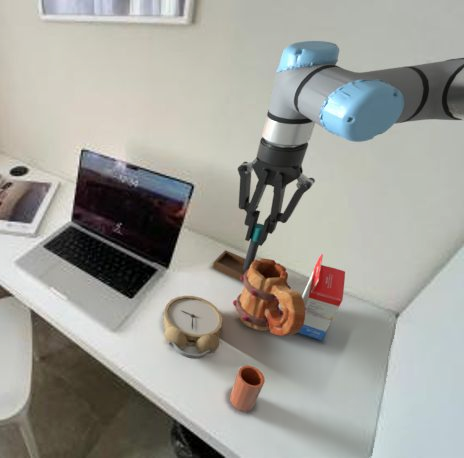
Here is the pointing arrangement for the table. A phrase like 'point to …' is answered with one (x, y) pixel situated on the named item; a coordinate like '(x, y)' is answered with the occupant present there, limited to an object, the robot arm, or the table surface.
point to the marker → (253, 246)
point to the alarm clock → (192, 325)
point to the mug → (269, 300)
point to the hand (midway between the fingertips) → (255, 239)
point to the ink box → (322, 299)
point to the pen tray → (230, 265)
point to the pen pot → (246, 388)
